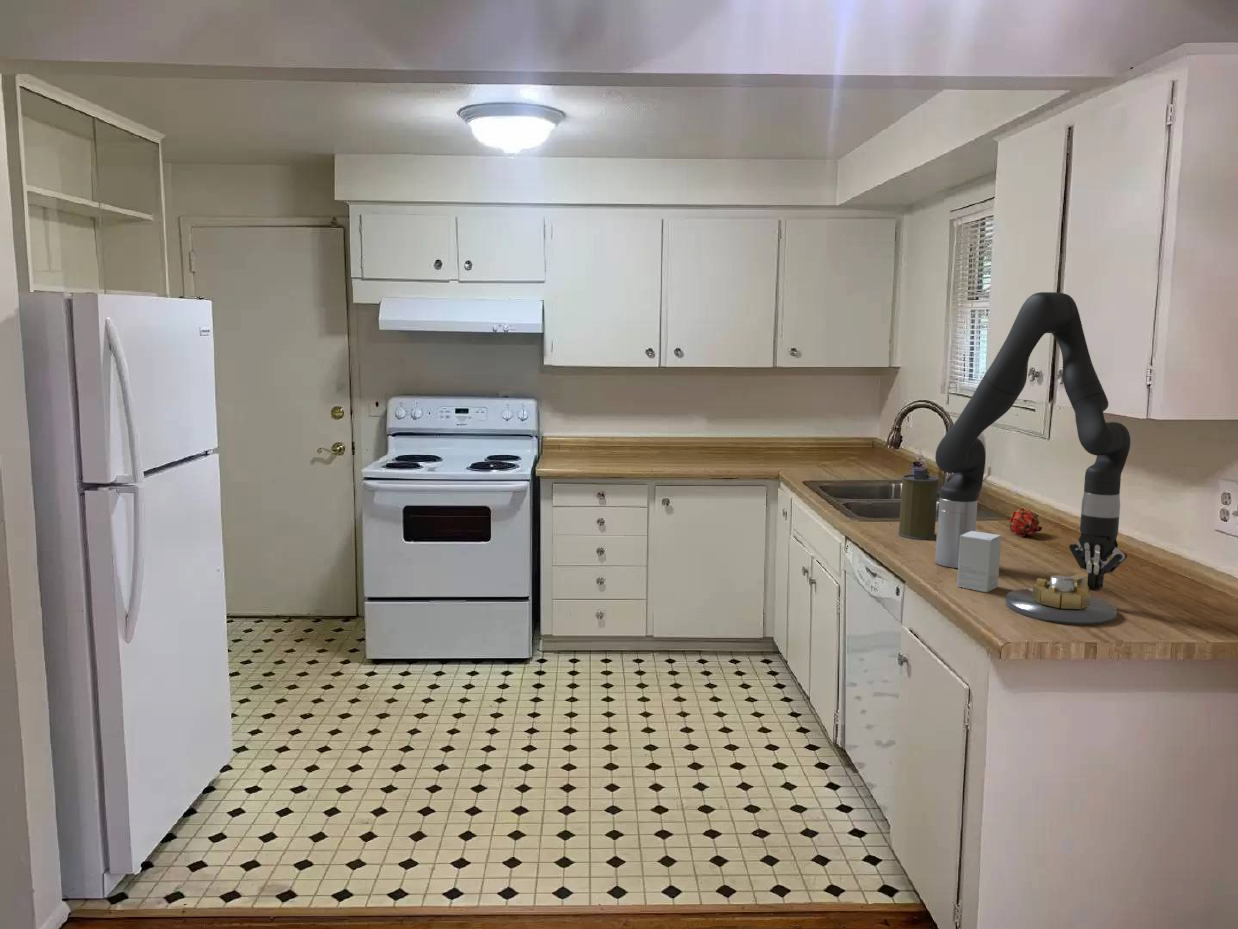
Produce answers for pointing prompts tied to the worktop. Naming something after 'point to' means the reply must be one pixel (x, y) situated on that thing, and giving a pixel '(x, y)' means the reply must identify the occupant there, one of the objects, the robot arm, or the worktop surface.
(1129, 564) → the worktop surface
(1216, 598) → the worktop surface
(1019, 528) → the dragon fruit
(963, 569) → the supplement box
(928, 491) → the canister
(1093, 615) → the flange
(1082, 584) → the tan curved piece
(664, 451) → the worktop surface
